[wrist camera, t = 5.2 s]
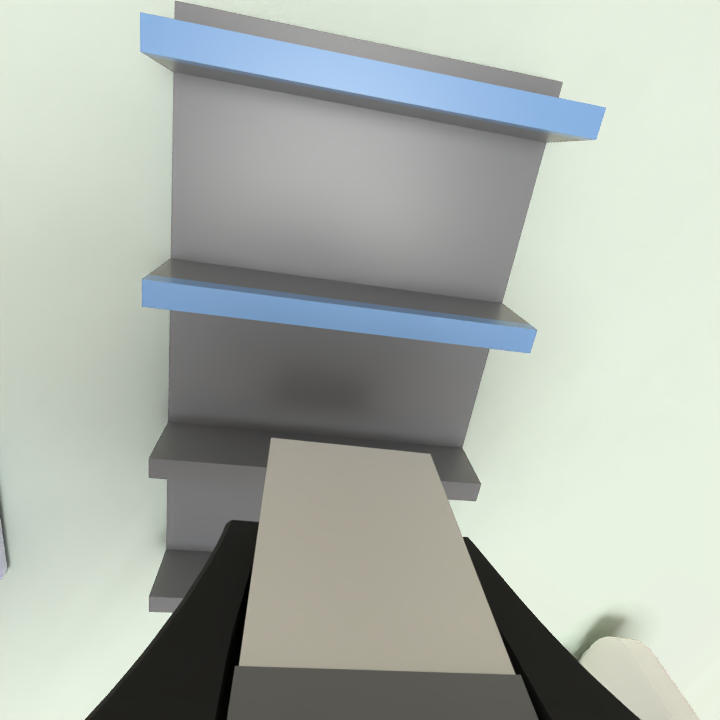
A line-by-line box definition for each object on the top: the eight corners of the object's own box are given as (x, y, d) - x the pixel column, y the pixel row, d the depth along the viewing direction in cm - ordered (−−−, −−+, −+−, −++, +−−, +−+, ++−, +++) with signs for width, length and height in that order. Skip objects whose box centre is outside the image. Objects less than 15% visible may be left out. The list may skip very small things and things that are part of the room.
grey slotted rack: (171, 563, 23) (144, 643, 19) (183, 10, 15) (139, -40, 11) (418, 575, 25) (438, 650, 21) (548, 86, 17) (619, 65, 13)
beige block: (253, 563, 13) (198, 950, 7) (269, 435, 12) (217, 780, 5) (399, 573, 14) (473, 935, 7) (432, 452, 12) (562, 780, 6)
